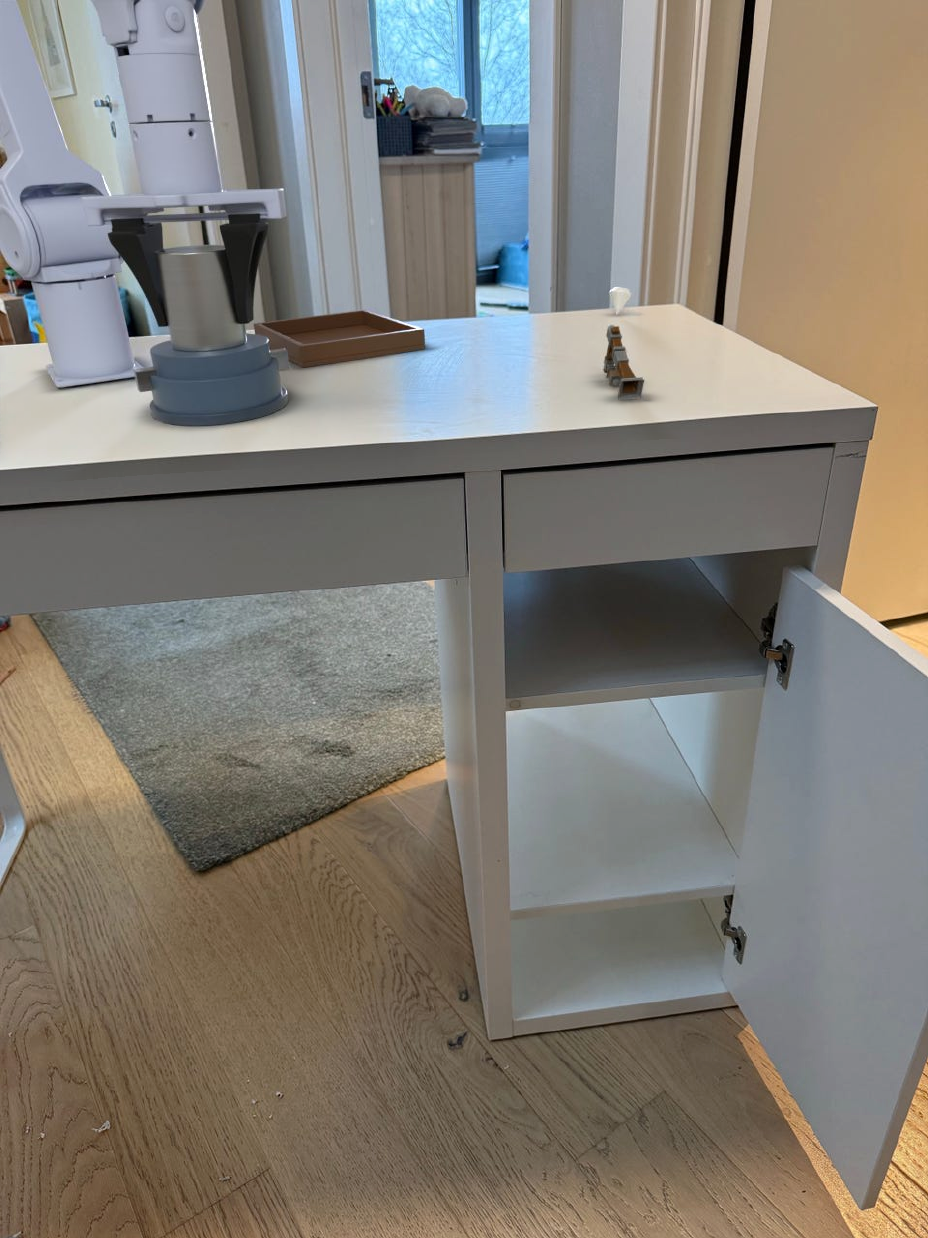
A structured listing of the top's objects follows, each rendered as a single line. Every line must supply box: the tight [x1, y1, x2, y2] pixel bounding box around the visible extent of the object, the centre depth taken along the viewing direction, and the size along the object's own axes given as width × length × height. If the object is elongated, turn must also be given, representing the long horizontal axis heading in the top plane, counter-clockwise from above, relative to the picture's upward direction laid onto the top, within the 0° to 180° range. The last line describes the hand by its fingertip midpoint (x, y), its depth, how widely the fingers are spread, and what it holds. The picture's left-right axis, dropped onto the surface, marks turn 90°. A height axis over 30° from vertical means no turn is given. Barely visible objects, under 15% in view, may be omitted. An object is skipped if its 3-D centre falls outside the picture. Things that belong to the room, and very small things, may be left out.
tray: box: [253, 309, 426, 368], centre depth 90 cm, size 15×13×2 cm
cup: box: [154, 244, 247, 352], centre depth 67 cm, size 6×6×7 cm
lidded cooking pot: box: [134, 332, 291, 427], centre depth 69 cm, size 11×12×5 cm
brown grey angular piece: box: [602, 324, 645, 401], centre depth 71 cm, size 2×8×4 cm, turn 5°
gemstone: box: [608, 286, 634, 315], centre depth 100 cm, size 3×3×3 cm
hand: (206, 323), depth 67 cm, fingers closed on cup, 6 cm apart
